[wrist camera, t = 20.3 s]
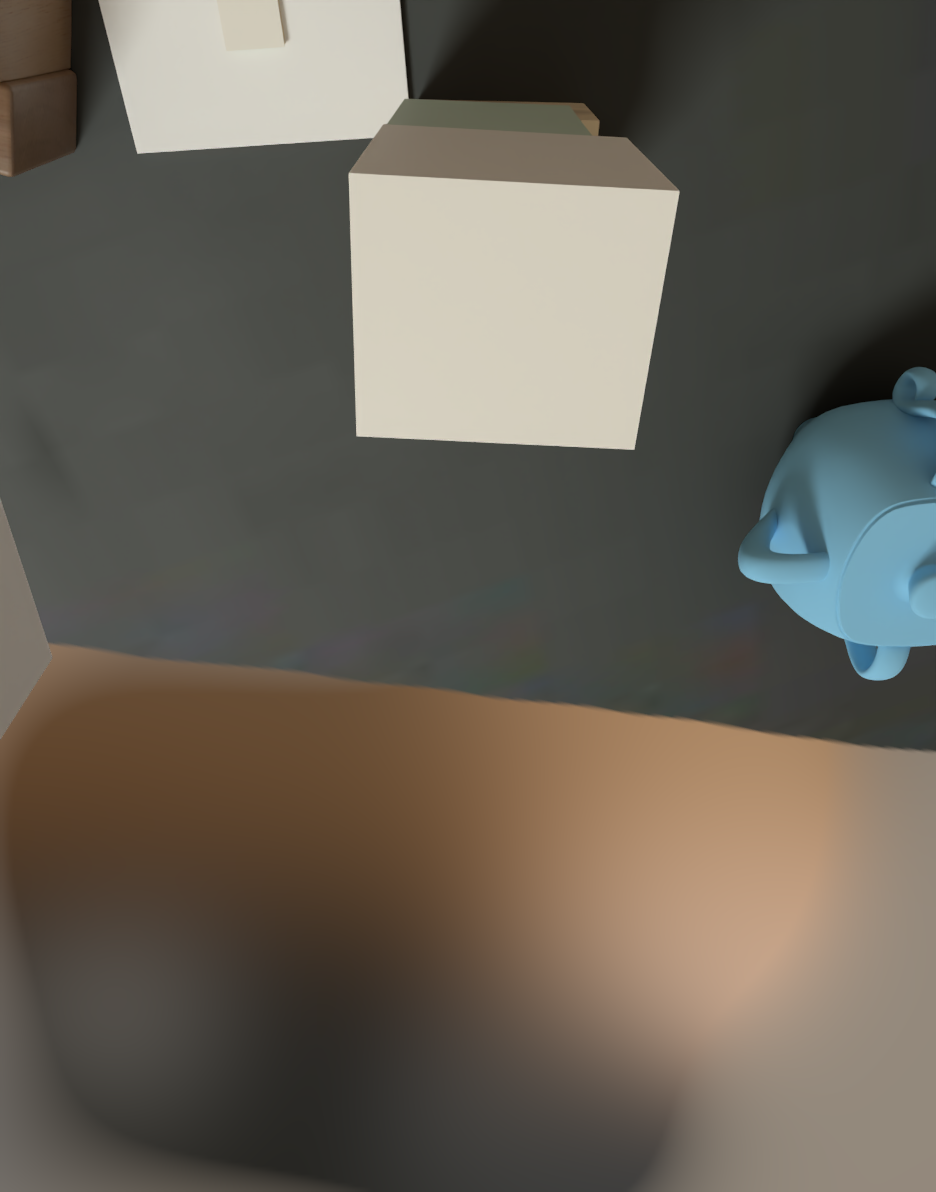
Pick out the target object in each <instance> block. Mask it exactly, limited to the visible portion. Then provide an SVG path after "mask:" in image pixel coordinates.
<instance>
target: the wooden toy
mask: <svg viewBox="0 0 936 1192" xmlns="http://www.w3.org/2000/svg"><path fill="white" fill-rule="evenodd" d="M70 68H71V0H0V174H1V175H4V176H8V177H13V176H16V175H19V174H21V173H23V172H26V171H28V170H31V169H33V168H36V167H38V166H41V165H43V164H46V163H48V162H51V161H53V160H56V159H58V158H61V157H63V156H66V155H68V154H71V153H74V152H75V149H76V112H77V77H76V74H75V73H74V72H73V71H71V70H69V69H70Z"/></svg>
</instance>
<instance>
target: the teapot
mask: <svg viewBox="0 0 936 1192" xmlns="http://www.w3.org/2000/svg"><path fill="white" fill-rule="evenodd" d="M935 397H936V373H935V372H934V371H932V370H931V369H928V368H925V367H915V368H911V369H909V370H907V371H905V372H904V373H903V374H902V375H901V377H900V378H899V379H898V381H897V382H896V384H895V386H894V389H893V395H892V398H893V399H888V400H878V401H869V402H861V403H856V404H851V405H846V406H841V407H838V408H835V409H832V410H830V411H827V412H825V413H823V414H821V415H820V416H818V417H814V418H811V419H808V420H806V421H805V422H803V423H802V424H801V425H800V426H799V427H798V428H797V430H796V431H795V433H794V436H793V440H792V442H791V443H790V445H789V446H788V448H787V449H786V451H785V453H784V454H783V456H782V458H781V459H780V461H779V463H778V465H777V467H776V469H775V471H774V473H773V475H772V477H771V479H770V482H769V485H768V487H767V490H766V492H765V496H764V500H763V504H762V508H761V515H760V521H759V522H758V523H757V524H756V525H755V526H754V527H753V528H752V529H751V531H750V532H749V533H748V534H747V536H746V537H745V538H744V540H743V542H742V544H741V546H740V549H739V554H738V564H739V568H740V570H741V572H742V573H743V574H744V575H745V576H746V577H748V578H750V579H752V580H754V581H757V582H762V583H770V584H772V586H773V587H774V589H775V591H776V592H777V593H778V595H779V596H780V597H781V598H782V599H783V600H784V601H785V602H786V603H787V604H788V605H789V606H790V607H791V608H792V609H793V610H794V611H795V612H796V613H797V614H798V615H800V616H801V617H802V618H804V619H805V620H807V621H808V622H810V623H812V624H813V625H815V626H817V627H818V628H820V629H822V630H825V631H827V632H829V633H831V634H833V635H835V636H838V637H840V638H843V639H845V643H846V647H847V651H848V654H849V657H850V660H851V662H852V665H853V667H854V668H855V670H856V672H857V673H858V674H859V675H860V676H862V677H864V678H866V679H870V680H886V679H890V678H892V677H894V676H896V675H897V674H898V673H899V672H900V671H901V670H902V669H903V667H904V665H905V663H906V661H907V658H908V655H909V651H910V646H927V645H936V400H934V399H935ZM876 646H878V649H877V648H876Z"/></svg>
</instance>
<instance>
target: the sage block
mask: <svg viewBox="0 0 936 1192" xmlns="http://www.w3.org/2000/svg"><path fill="white" fill-rule="evenodd" d="M387 124H391V125H409V126H427V127H445V128H463V129H481V130H499V131H517V132H535V133H553V134H571V135H589V136H592V135H591V133H590V132H589V131H588V129H587V128H586V127H585V126H584V124H583V123H582V122H581V120H580V119H579V118H578V116H577V115H576V114H575V112H574V111H573V110H572V108H571V107H570V106H568V105H544V104H520V103H496V102H472V101H448V100H424V99H404V100H403V102H402V103H401V105H400V106H399V108H398V109H397V110H396V112H395V113H394V115H393V116H392V118H391V119H390V120H389V122H388V123H387Z"/></svg>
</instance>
